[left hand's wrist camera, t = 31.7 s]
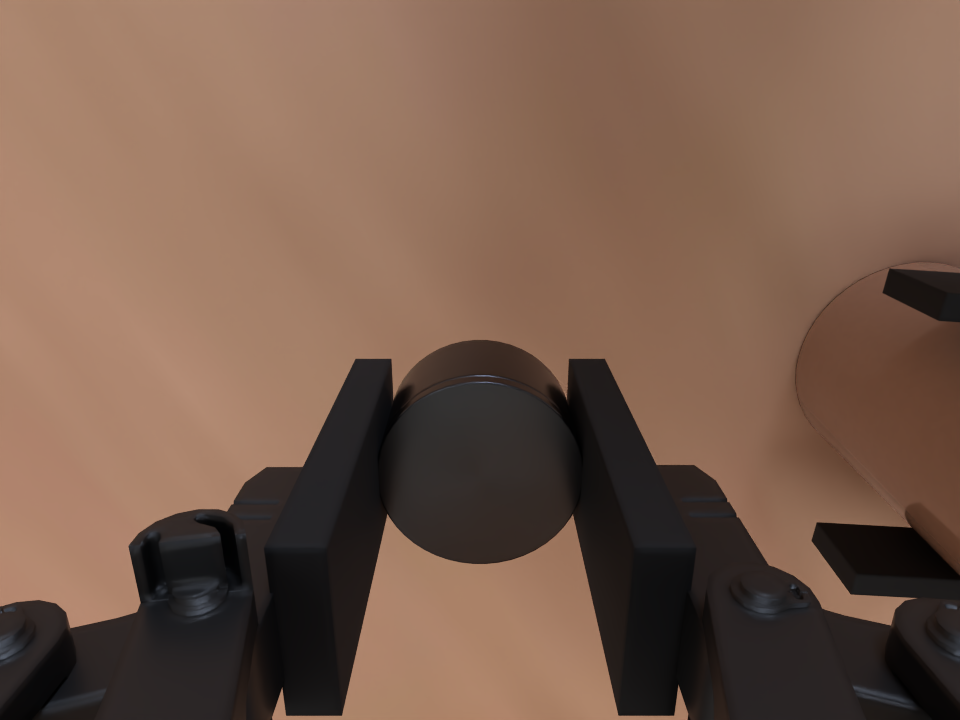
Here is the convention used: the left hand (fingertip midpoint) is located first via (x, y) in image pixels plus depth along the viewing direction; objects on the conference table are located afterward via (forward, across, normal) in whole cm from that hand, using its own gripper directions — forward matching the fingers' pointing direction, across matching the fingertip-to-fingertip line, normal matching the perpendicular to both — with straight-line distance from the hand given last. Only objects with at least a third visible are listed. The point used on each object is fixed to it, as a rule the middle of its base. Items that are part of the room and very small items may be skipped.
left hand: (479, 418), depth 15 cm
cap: (-2, 0, 0) cm, 2 cm away
